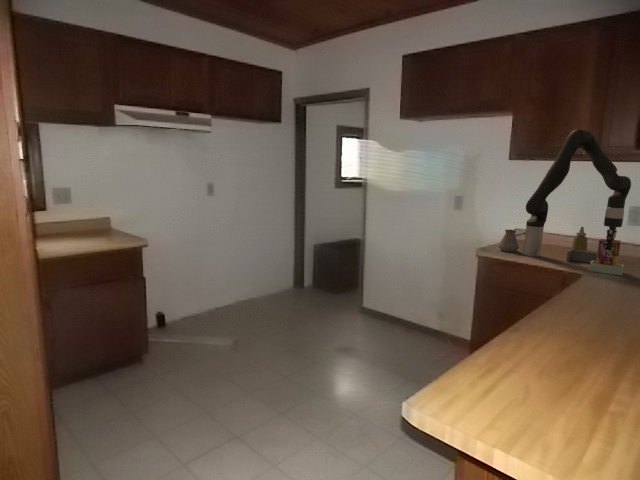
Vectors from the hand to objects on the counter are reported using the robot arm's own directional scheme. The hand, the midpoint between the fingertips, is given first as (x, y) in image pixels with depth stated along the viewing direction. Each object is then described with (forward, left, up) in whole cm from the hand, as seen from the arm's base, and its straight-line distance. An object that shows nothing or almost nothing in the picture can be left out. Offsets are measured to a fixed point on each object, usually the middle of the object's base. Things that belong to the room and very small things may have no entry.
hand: (609, 249), depth 213 cm
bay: (-12, +15, -12) cm, 22 cm away
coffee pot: (-47, +21, -12) cm, 53 cm away
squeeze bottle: (-16, +32, -12) cm, 38 cm away
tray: (0, 0, -12) cm, 12 cm away
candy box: (0, 0, -11) cm, 11 cm away
